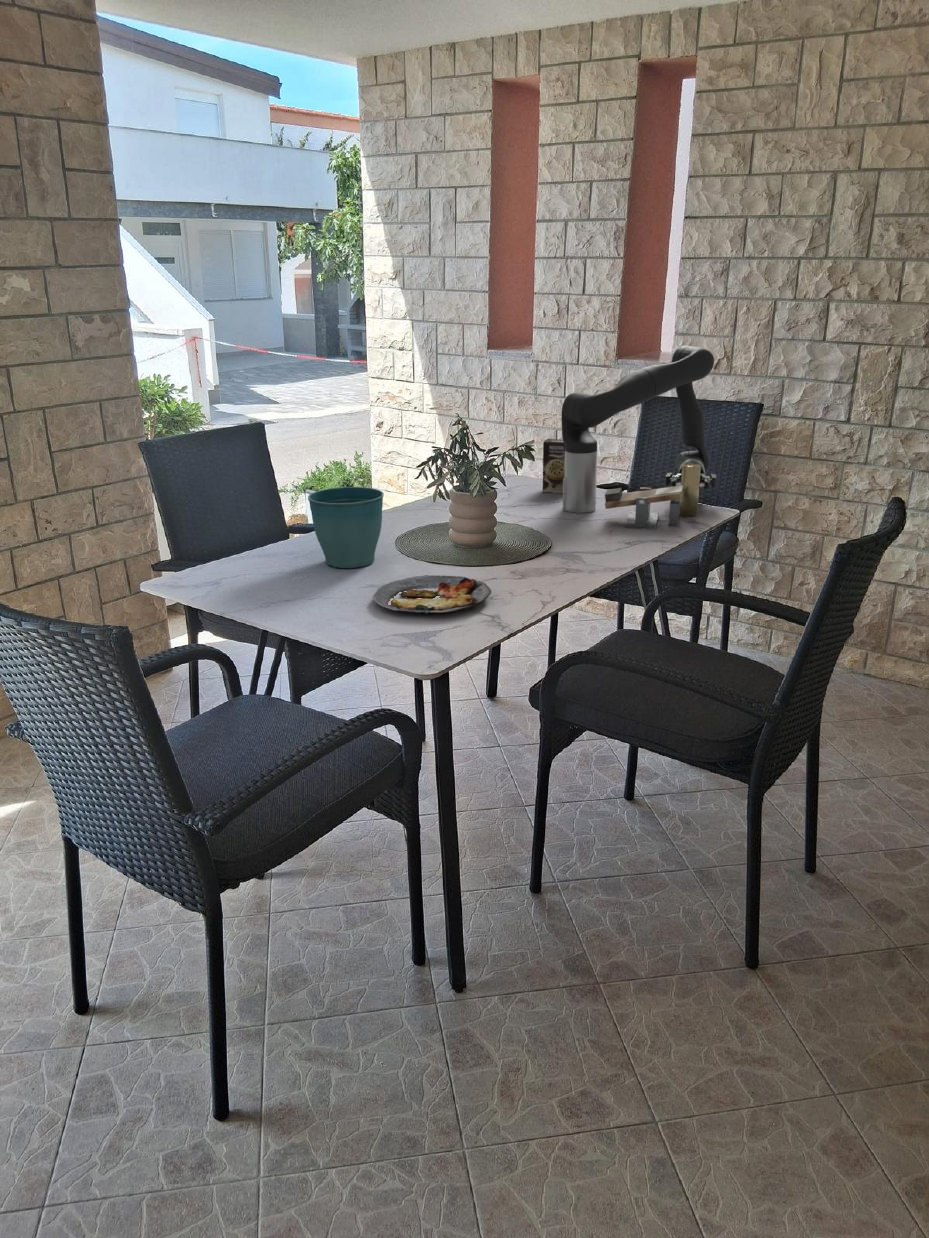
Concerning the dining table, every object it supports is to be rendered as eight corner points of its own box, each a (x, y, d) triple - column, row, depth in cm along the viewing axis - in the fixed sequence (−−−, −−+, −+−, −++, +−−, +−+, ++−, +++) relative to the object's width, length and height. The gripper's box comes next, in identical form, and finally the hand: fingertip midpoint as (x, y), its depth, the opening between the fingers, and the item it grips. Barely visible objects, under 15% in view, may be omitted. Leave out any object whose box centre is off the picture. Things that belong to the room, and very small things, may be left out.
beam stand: (625, 527, 253) (626, 498, 250) (630, 514, 266) (631, 486, 263) (676, 530, 250) (678, 500, 247) (679, 517, 263) (681, 488, 260)
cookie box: (541, 493, 294) (542, 441, 288) (546, 488, 300) (546, 438, 294) (570, 494, 291) (571, 442, 286) (574, 489, 297) (575, 439, 291)
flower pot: (343, 548, 242) (338, 483, 236) (401, 557, 233) (398, 490, 227) (298, 567, 227) (292, 499, 221) (358, 577, 218) (353, 506, 212)
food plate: (499, 585, 210) (499, 570, 209) (478, 623, 189) (477, 607, 188) (394, 583, 216) (392, 568, 215) (361, 619, 195) (359, 603, 194)
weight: (678, 516, 263) (682, 467, 258) (679, 512, 268) (682, 463, 263) (696, 517, 262) (700, 467, 257) (697, 512, 266) (701, 464, 261)
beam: (605, 508, 255) (603, 496, 254) (609, 500, 264) (608, 488, 263) (682, 498, 249) (680, 486, 248) (683, 490, 258) (682, 478, 257)
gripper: (668, 460, 279) (665, 471, 265) (717, 461, 276) (717, 472, 261) (666, 484, 282) (663, 497, 267) (715, 486, 278) (715, 498, 264)
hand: (690, 485), depth 264 cm, fingers open, 8 cm apart
